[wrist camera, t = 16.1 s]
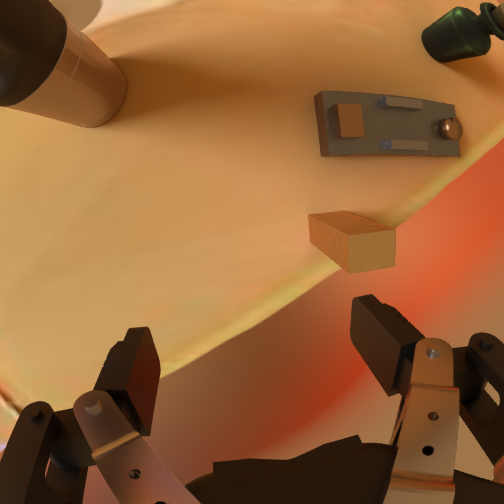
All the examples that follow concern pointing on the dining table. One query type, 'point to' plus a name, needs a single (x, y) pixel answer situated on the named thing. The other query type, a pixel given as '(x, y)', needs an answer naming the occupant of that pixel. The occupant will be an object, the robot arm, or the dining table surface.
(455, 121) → the hand plane
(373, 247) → the wood grain block
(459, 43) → the potion bottle
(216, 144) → the dining table surface
